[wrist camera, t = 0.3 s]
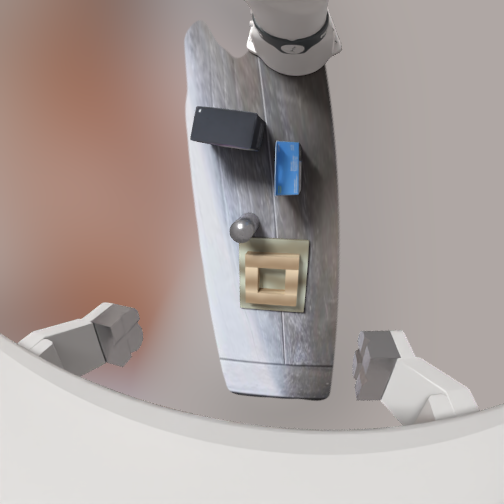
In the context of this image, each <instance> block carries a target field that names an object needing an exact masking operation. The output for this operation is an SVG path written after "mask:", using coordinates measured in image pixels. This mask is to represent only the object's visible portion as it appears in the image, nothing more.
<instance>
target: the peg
mask: <svg viewBox="0 0 504 504" xmlns="http://www.w3.org/2000/svg"><path fill="white" fill-rule="evenodd" d="M258 227H259V219H258V217H257V216H256V215H255V214H253V213H245V214H244V215H242V216H241V217H240V218H239V219H238V220H236V221H235V222H234V223H233V224H232V225H231V227H230V236H231V238H232V239H233V240H234V241H236V242H238V243H245V242H247V241H249V240H250V238H251V237H252V236H253V234H254V233H255V231H256V230H257V229H258Z"/></svg>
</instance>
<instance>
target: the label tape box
mask: <svg viewBox="0 0 504 504" xmlns="http://www.w3.org/2000/svg"><path fill="white" fill-rule="evenodd" d="M300 191H301V145H300V143H299V142H283V141H276V146H275V197H276V196H283V195H299V192H300Z"/></svg>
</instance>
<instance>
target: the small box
mask: <svg viewBox="0 0 504 504" xmlns="http://www.w3.org/2000/svg"><path fill="white" fill-rule="evenodd" d="M264 128H265V121H263V120H262V119H261V118H260V117H259V116H258V114H257V113H252V112H245V111H238V110H231V109H222V108H213V107H202V106H197V107H196V111H195V116H194V121H193V127H192V132H191V138H190V140H192V141H197V142H202V143H207V144H212V145H217V146H223V147H229V148H236V149H243V150H250V151H260V148H261V143H262V138H263V133H264Z"/></svg>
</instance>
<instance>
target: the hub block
mask: <svg viewBox="0 0 504 504" xmlns="http://www.w3.org/2000/svg"><path fill="white" fill-rule="evenodd" d="M308 251H309V240H299V239H280V238H259V237H251V238H250V240H249V241H247V242H245V243H239V270H240V308H250V309H262V310H275V311H289V312H304V303H305V292H306V279H307V266H308Z"/></svg>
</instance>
